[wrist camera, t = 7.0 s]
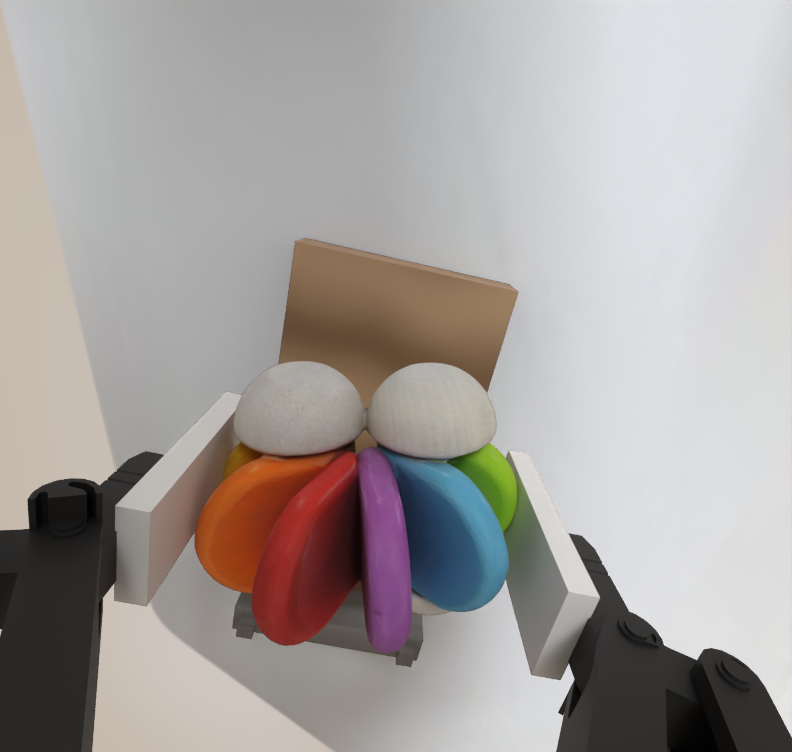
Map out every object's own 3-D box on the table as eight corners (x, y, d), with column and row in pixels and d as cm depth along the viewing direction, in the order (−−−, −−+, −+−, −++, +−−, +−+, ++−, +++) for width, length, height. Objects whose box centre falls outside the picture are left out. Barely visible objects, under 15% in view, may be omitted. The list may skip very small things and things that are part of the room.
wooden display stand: (304, 238, 22) (276, 248, 17) (509, 284, 22) (537, 307, 18) (257, 565, 29) (227, 640, 24) (414, 594, 29) (416, 673, 24)
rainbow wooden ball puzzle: (229, 347, 16) (95, 456, 9) (513, 352, 16) (595, 466, 9) (253, 548, 19) (166, 744, 12) (492, 553, 19) (542, 755, 12)
